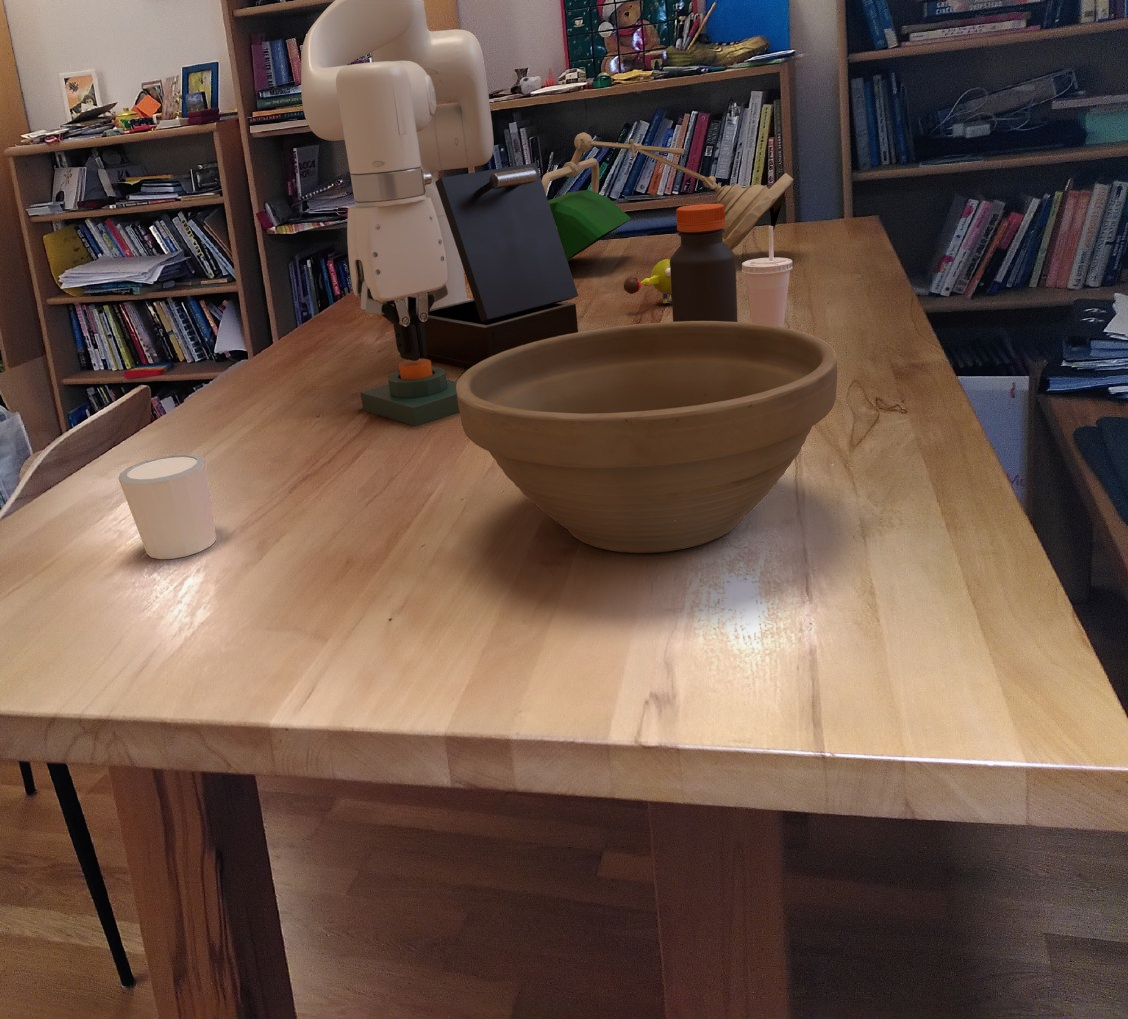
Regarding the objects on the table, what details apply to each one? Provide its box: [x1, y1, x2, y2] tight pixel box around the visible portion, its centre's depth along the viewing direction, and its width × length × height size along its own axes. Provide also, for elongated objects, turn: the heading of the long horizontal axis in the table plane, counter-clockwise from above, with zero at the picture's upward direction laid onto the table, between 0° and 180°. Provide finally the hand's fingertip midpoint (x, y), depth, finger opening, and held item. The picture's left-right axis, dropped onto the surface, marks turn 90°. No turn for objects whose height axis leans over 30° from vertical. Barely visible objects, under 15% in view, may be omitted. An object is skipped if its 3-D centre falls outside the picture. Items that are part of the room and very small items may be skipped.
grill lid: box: [435, 162, 579, 322], centre depth 130 cm, size 18×15×6 cm
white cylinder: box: [117, 453, 217, 560], centre depth 86 cm, size 7×7×7 cm
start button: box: [398, 358, 433, 380], centre depth 118 cm, size 4×4×2 cm
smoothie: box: [741, 225, 793, 328], centre depth 133 cm, size 6×6×14 cm
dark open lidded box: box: [424, 298, 579, 370], centre depth 140 cm, size 17×15×6 cm
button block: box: [359, 366, 460, 427], centre depth 119 cm, size 11×9×4 cm
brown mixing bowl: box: [456, 321, 838, 554], centre depth 81 cm, size 28×28×13 cm
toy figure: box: [623, 258, 672, 306], centre depth 160 cm, size 18×6×7 cm, turn 131°
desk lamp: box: [541, 132, 794, 262], centre depth 191 cm, size 35×42×39 cm
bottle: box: [669, 203, 739, 322], centre depth 110 cm, size 7×7×20 cm
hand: (413, 357), depth 117 cm, fingers closed
